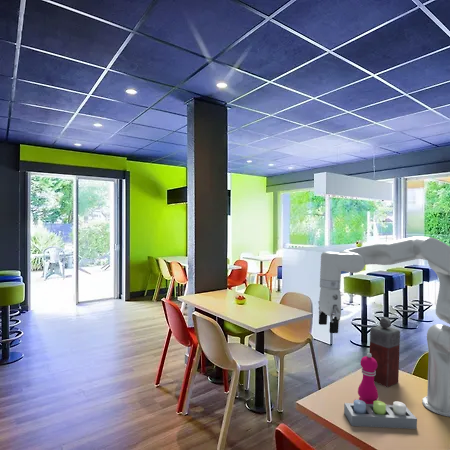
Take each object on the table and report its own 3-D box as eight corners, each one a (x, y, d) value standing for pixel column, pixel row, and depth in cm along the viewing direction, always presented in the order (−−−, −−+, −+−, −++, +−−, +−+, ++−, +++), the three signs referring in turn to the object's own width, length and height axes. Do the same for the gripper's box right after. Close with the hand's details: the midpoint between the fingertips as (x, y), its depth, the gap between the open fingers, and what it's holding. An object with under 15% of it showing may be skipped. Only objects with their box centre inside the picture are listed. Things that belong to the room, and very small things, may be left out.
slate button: (362, 410, 119) (363, 399, 119) (367, 417, 115) (367, 406, 115) (351, 410, 119) (352, 399, 119) (355, 416, 115) (356, 405, 115)
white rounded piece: (402, 412, 118) (402, 401, 118) (407, 419, 114) (408, 407, 114) (390, 412, 119) (391, 401, 118) (396, 418, 115) (396, 407, 114)
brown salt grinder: (401, 381, 147) (403, 318, 146) (387, 387, 140) (389, 322, 140) (382, 373, 154) (384, 313, 154) (368, 378, 148) (370, 316, 148)
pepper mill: (379, 411, 122) (381, 357, 122) (359, 408, 124) (361, 355, 124) (375, 400, 130) (376, 350, 129) (355, 398, 131) (357, 348, 131)
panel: (404, 415, 120) (404, 405, 120) (416, 428, 112) (417, 418, 112) (344, 412, 121) (344, 402, 121) (351, 425, 113) (352, 415, 113)
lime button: (382, 411, 119) (382, 400, 119) (387, 418, 115) (387, 407, 115) (371, 411, 119) (371, 400, 119) (375, 417, 115) (376, 406, 115)
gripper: (350, 289, 117) (348, 336, 118) (329, 280, 135) (327, 321, 135) (330, 288, 117) (328, 336, 117) (311, 279, 134) (310, 321, 134)
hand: (328, 328), depth 126 cm, fingers open, 9 cm apart
